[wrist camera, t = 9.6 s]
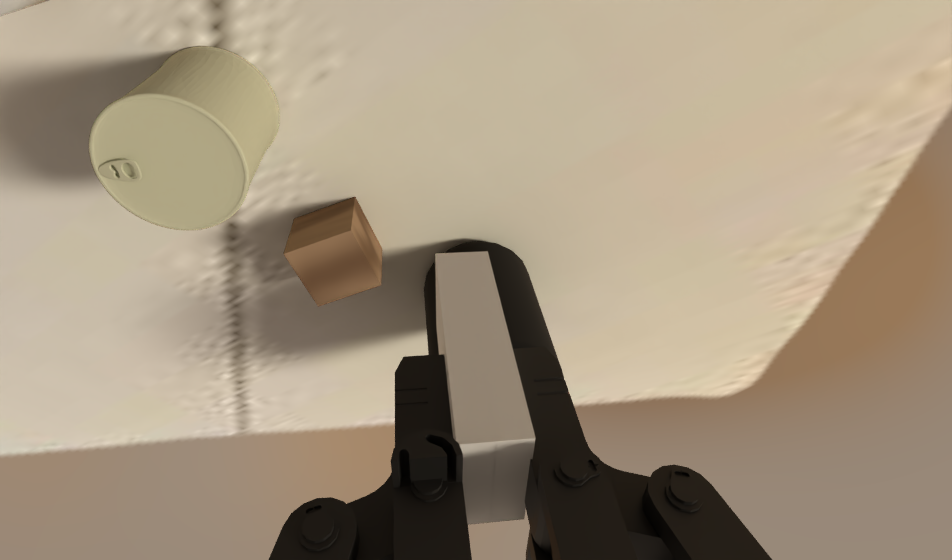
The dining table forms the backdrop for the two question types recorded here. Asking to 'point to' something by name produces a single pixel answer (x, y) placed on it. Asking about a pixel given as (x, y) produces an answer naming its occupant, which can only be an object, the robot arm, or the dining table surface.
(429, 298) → the coffee jar
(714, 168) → the dining table surface
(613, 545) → the robot arm
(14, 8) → the grey cylinder
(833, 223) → the dining table surface
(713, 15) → the dining table surface
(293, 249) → the walnut block
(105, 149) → the can
